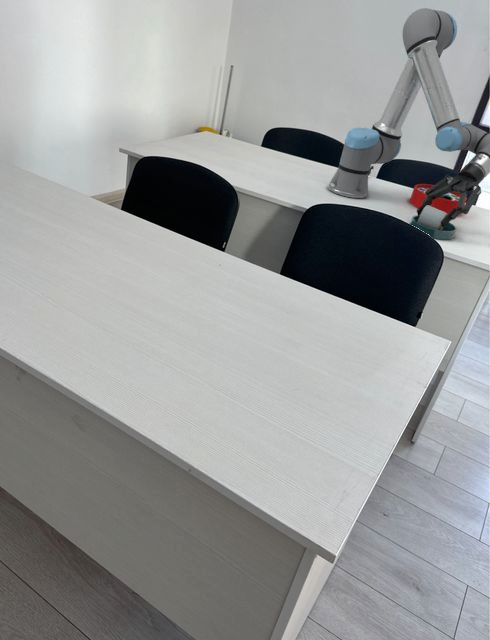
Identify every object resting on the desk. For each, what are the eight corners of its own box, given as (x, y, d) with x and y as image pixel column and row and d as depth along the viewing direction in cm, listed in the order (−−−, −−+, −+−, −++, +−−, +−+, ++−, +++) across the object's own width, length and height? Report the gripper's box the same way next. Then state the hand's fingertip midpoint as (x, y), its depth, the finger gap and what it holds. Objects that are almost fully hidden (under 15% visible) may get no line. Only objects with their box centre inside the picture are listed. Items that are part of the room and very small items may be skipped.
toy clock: (435, 200, 213) (404, 182, 229) (429, 215, 216) (399, 197, 232) (478, 202, 220) (445, 185, 236) (472, 217, 223) (440, 199, 239)
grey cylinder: (438, 236, 194) (446, 214, 190) (414, 228, 198) (422, 206, 194) (445, 229, 202) (454, 208, 198) (422, 222, 206) (430, 201, 202)
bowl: (411, 220, 208) (414, 212, 206) (454, 231, 204) (457, 223, 202) (406, 231, 196) (409, 222, 194) (452, 243, 192) (455, 235, 190)
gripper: (446, 153, 200) (402, 200, 200) (503, 173, 186) (455, 224, 186) (450, 168, 206) (406, 214, 206) (505, 189, 191) (459, 238, 191)
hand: (429, 219), depth 196 cm, fingers closed on grey cylinder, 9 cm apart
